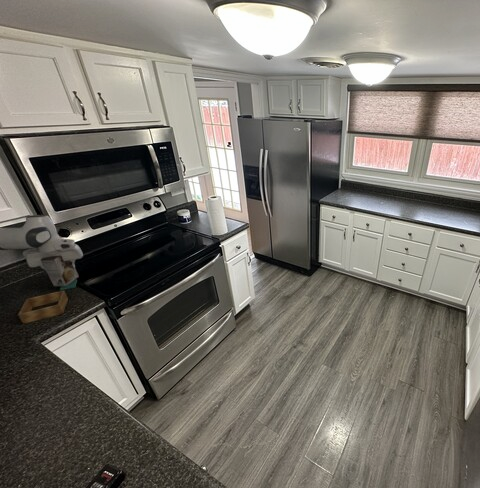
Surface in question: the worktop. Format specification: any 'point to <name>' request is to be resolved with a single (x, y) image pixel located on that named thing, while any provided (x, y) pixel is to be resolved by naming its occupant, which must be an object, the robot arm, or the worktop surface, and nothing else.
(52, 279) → the coffee box
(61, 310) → the holder
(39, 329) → the worktop surface
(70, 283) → the mat
